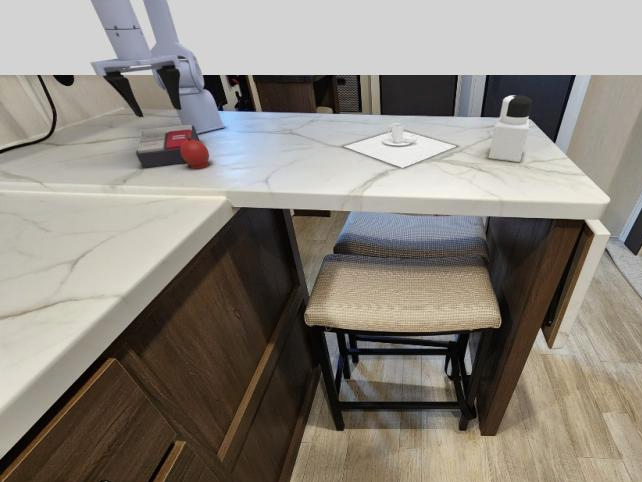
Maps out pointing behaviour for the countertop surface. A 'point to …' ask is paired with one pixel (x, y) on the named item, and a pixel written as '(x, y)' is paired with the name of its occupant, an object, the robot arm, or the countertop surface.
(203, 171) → the countertop surface
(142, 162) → the grey box
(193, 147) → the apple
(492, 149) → the medicine bottle
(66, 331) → the countertop surface
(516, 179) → the countertop surface
